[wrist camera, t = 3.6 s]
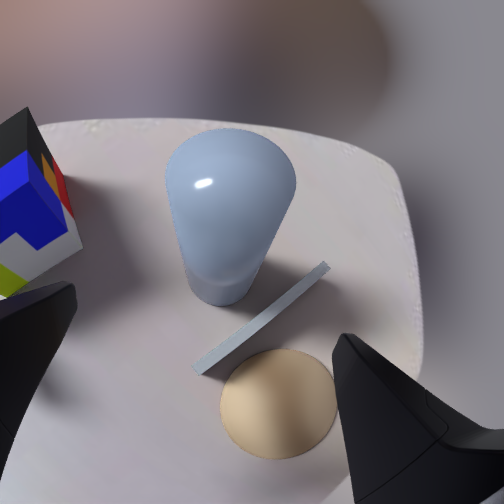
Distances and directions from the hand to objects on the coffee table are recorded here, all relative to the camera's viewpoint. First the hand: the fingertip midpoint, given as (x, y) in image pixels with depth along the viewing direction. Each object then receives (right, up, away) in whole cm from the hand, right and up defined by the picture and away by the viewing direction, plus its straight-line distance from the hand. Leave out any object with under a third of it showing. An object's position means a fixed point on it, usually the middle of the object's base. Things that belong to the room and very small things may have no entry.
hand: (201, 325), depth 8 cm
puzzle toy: (-20, +4, +13) cm, 24 cm away
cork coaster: (+4, -9, +10) cm, 14 cm away
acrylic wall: (+2, -3, +13) cm, 13 cm away
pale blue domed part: (-1, 0, +14) cm, 14 cm away
